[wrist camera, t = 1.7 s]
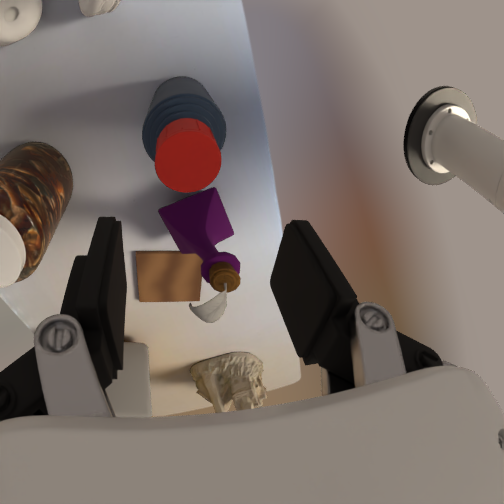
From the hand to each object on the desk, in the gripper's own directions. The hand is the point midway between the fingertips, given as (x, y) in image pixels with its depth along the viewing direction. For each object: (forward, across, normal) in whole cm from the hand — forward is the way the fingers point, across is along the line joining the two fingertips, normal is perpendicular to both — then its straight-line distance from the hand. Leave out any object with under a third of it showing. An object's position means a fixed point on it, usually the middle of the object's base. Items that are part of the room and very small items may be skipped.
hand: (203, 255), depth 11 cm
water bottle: (+28, 0, 0) cm, 28 cm away
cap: (+12, 0, 0) cm, 12 cm away
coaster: (+28, 0, +26) cm, 38 cm away
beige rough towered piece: (+28, -13, +56) cm, 64 cm away
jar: (+28, +19, +10) cm, 35 cm away
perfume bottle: (+28, -3, +14) cm, 31 cm away
